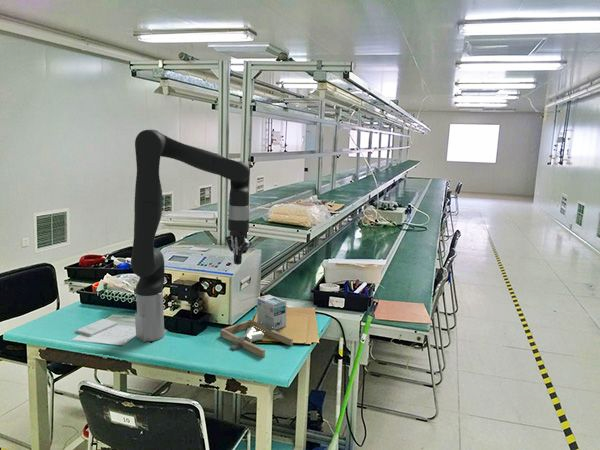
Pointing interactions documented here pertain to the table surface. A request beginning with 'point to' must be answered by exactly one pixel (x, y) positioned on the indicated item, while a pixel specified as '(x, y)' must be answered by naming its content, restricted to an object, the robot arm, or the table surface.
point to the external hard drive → (97, 327)
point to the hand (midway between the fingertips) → (237, 263)
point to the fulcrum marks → (238, 346)
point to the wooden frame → (247, 345)
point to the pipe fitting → (253, 335)
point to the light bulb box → (271, 312)
